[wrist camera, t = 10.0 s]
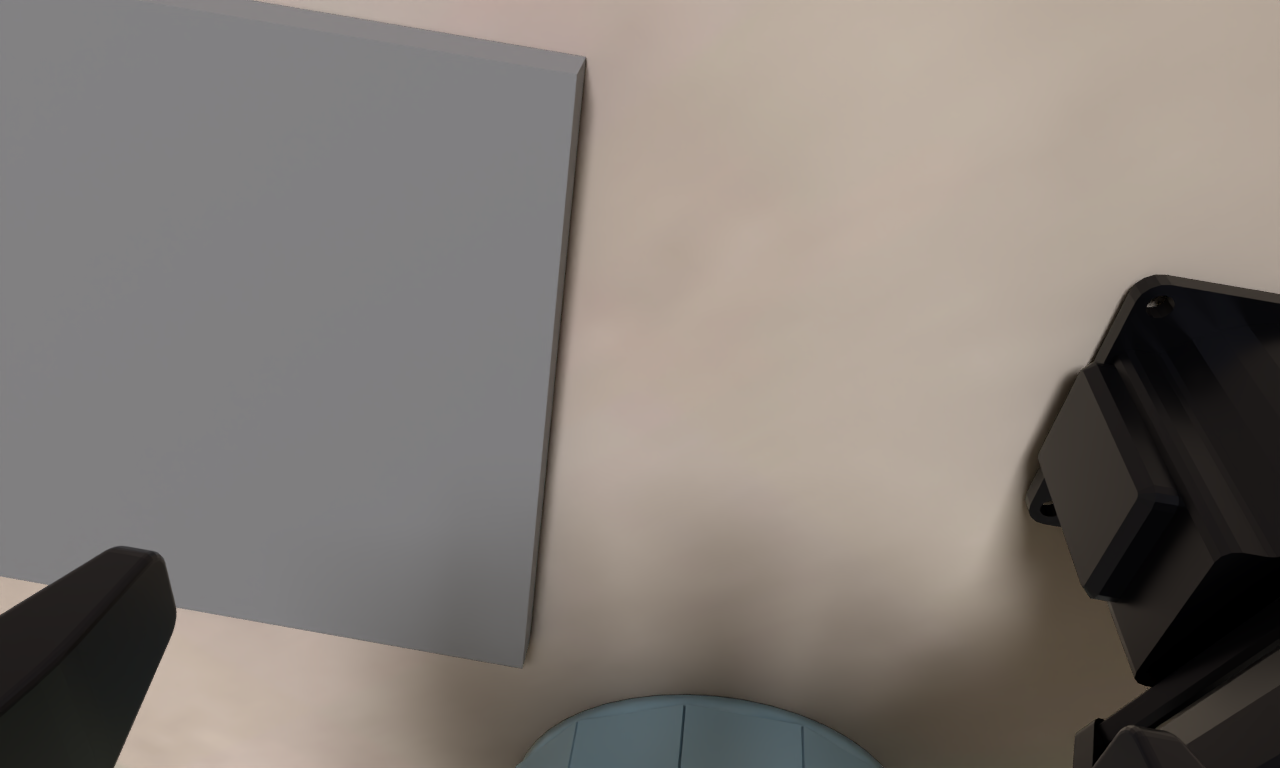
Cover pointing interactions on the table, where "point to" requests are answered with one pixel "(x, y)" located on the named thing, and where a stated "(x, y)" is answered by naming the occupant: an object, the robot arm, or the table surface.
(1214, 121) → the table surface
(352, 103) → the mat
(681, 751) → the ring
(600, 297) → the table surface
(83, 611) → the robot arm
